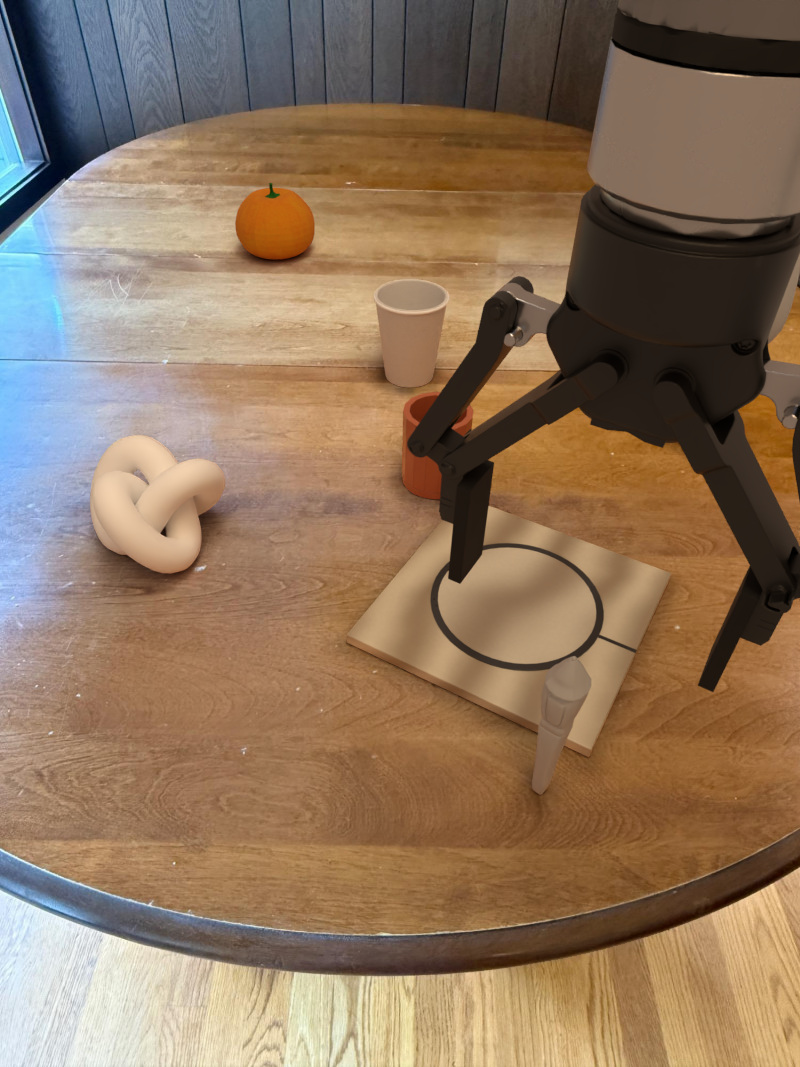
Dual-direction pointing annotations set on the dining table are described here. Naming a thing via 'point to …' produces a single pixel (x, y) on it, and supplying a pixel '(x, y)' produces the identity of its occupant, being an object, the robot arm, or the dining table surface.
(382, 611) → the drawing board
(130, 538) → the beige decorative knot
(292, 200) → the fruit
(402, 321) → the dixie cup
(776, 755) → the dining table surface
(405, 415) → the pen pot
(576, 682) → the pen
